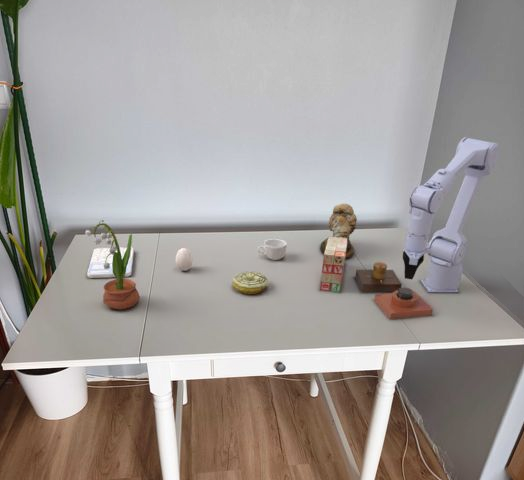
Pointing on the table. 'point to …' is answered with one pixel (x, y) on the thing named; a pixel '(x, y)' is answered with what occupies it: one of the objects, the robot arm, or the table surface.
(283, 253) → the teacup
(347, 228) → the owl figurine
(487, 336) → the table surface
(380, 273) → the dial
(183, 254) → the egg
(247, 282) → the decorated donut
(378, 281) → the dial panel
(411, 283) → the table surface
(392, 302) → the button base
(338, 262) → the stack of blocks
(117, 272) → the potted flower
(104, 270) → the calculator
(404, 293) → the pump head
